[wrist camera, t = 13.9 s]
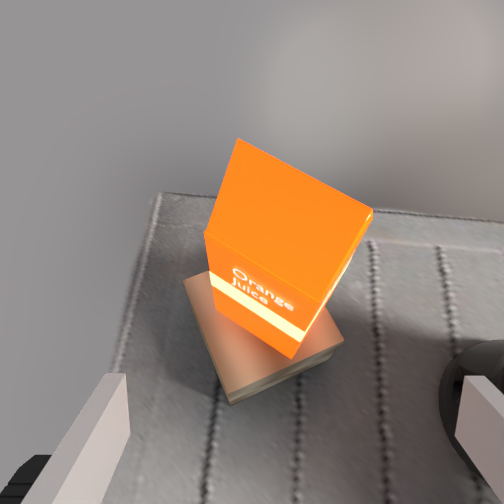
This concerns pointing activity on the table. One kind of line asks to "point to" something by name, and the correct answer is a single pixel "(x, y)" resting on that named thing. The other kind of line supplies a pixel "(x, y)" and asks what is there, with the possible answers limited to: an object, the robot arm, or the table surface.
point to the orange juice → (278, 246)
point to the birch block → (253, 346)
